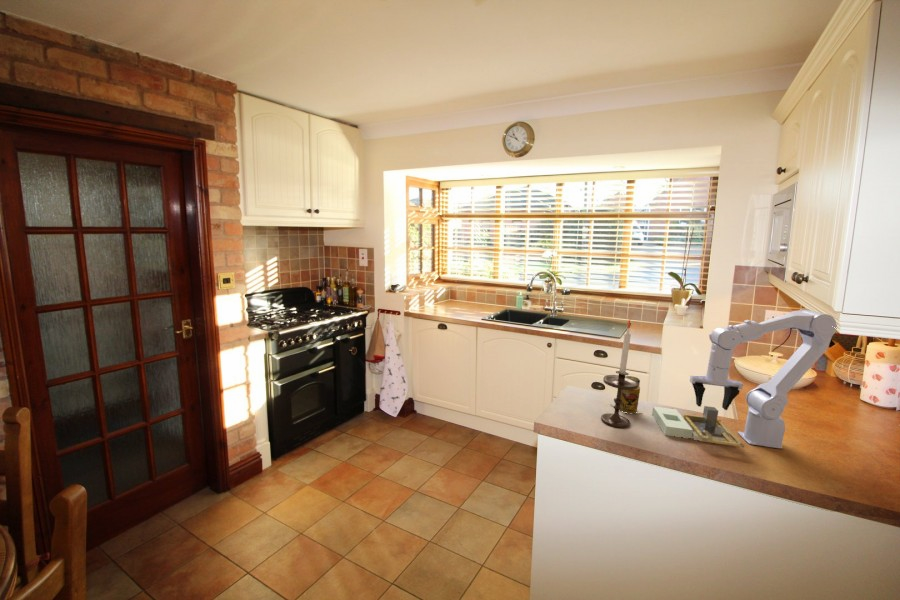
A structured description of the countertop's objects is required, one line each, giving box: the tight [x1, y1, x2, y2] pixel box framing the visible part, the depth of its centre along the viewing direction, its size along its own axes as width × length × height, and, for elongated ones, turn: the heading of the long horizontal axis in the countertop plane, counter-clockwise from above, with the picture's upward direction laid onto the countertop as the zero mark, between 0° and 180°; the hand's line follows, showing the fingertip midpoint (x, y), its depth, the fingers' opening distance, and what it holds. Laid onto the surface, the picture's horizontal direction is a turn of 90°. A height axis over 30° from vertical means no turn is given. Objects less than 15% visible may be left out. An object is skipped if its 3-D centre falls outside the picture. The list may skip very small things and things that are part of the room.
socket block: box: [686, 421, 735, 443], centre depth 138 cm, size 11×11×2 cm
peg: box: [692, 405, 724, 437], centre depth 137 cm, size 8×8×9 cm
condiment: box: [610, 375, 643, 415], centre depth 154 cm, size 7×8×12 cm
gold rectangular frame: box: [682, 413, 745, 448], centre depth 135 cm, size 11×18×2 cm, turn 169°
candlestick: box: [600, 319, 640, 429], centre depth 140 cm, size 11×11×35 cm
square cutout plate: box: [651, 406, 693, 439], centre depth 142 cm, size 8×16×3 cm, turn 169°
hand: (711, 407), depth 136 cm, fingers open, 7 cm apart
